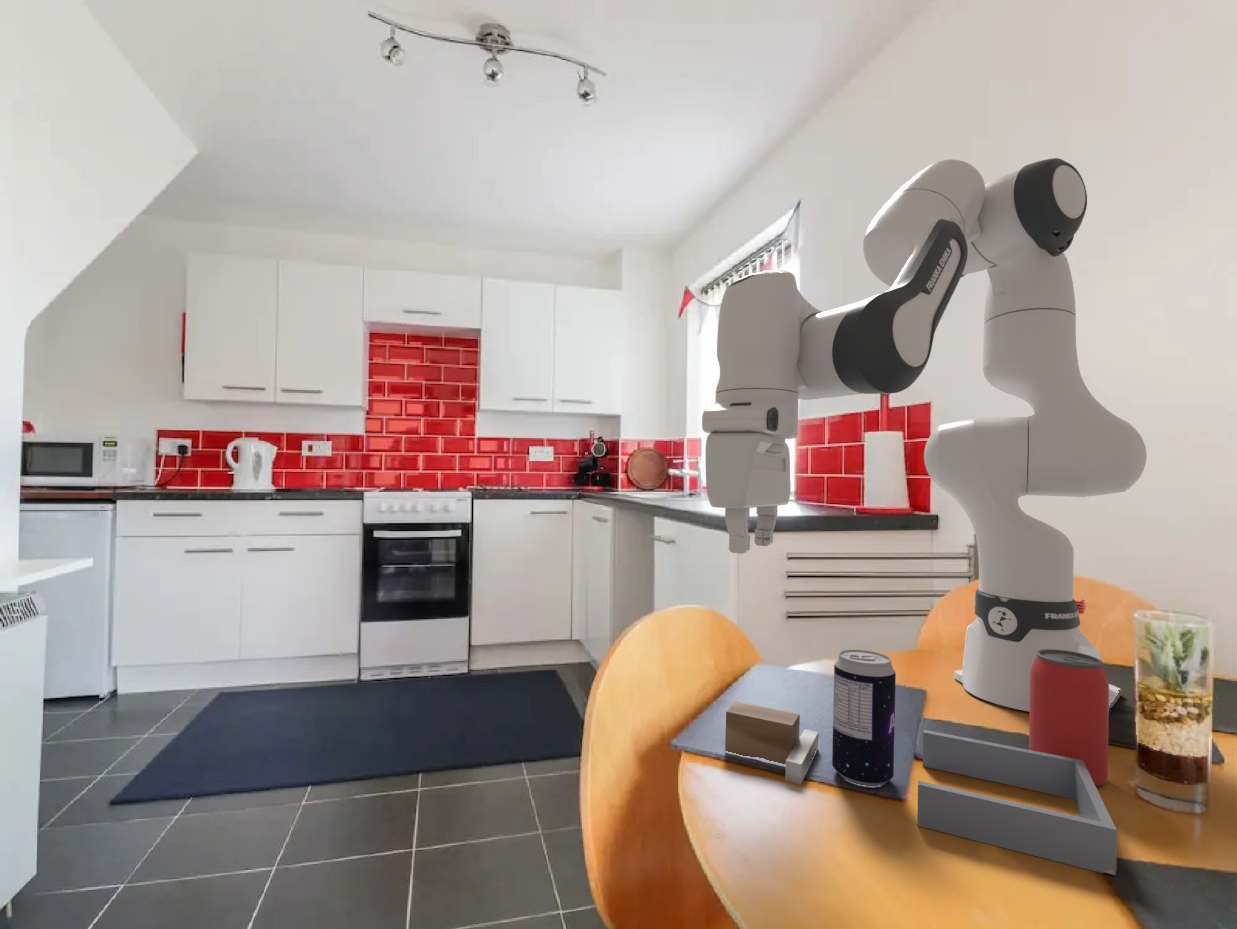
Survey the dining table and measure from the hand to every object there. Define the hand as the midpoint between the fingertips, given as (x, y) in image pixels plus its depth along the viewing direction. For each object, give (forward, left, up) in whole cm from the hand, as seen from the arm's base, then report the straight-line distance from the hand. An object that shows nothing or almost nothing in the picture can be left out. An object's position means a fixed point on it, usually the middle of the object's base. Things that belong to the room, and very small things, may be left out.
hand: (752, 548), depth 68 cm
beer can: (-25, +20, -22) cm, 39 cm away
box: (-12, +20, -22) cm, 32 cm away
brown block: (-1, +1, -22) cm, 22 cm away
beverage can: (-6, +10, -22) cm, 25 cm away
